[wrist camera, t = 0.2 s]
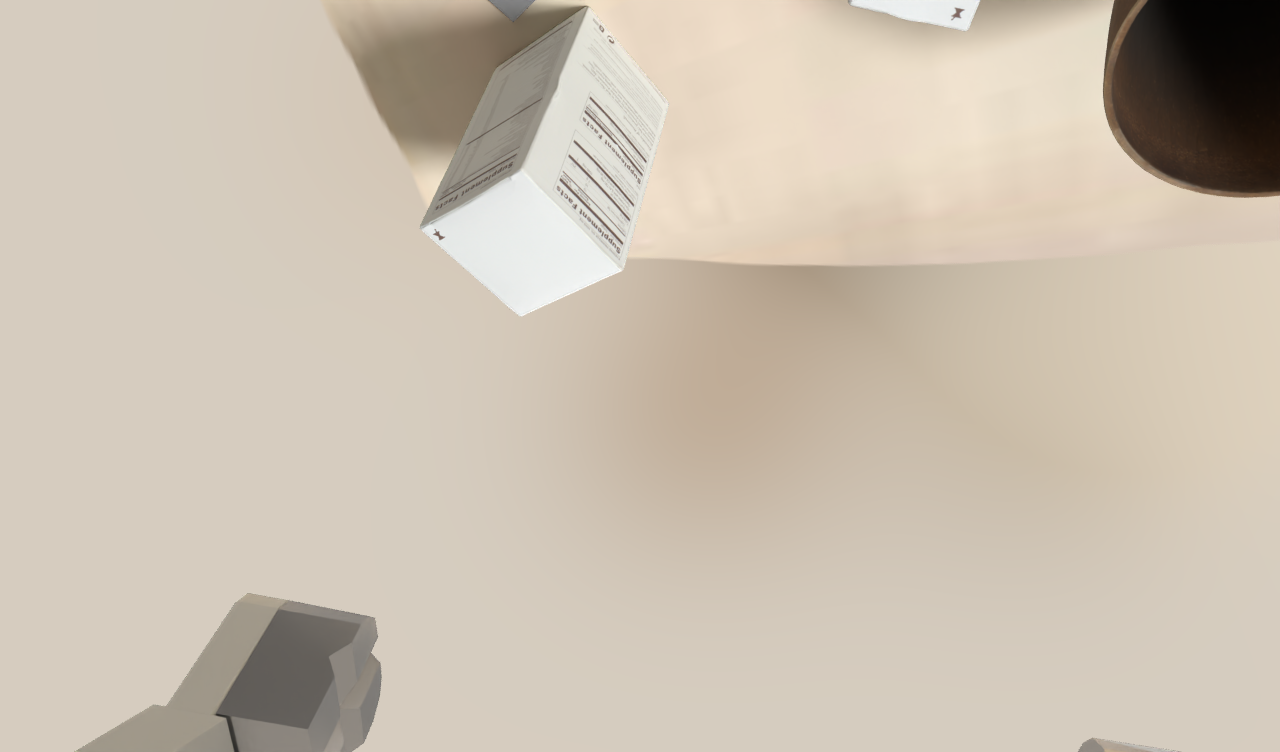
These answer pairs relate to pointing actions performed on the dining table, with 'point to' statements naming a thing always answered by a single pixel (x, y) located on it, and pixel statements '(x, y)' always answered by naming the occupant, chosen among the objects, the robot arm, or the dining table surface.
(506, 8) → the slate tile
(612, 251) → the supplement box
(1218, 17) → the plant pot
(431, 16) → the dining table surface
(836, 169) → the dining table surface
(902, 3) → the skincare box
